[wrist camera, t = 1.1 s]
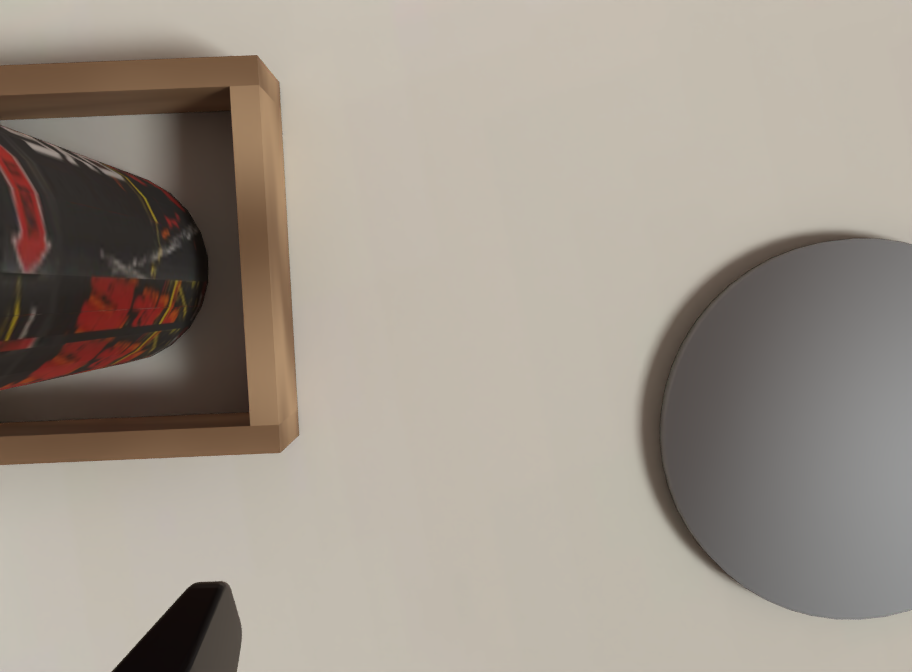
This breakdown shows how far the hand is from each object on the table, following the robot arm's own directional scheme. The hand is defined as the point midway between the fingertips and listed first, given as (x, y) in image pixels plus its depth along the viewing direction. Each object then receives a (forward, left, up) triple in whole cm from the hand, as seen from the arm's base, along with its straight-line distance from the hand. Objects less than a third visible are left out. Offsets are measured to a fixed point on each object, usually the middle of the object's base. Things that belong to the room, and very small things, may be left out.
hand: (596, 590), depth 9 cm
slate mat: (+6, -9, -14) cm, 18 cm away
